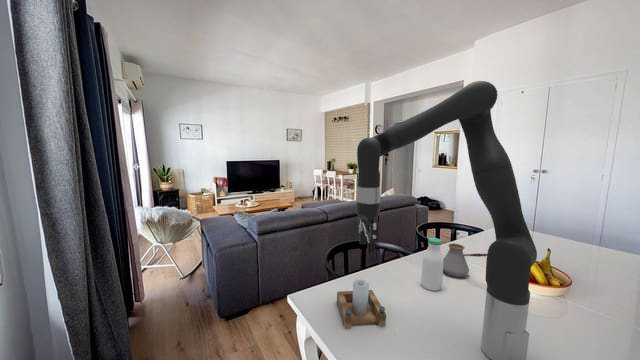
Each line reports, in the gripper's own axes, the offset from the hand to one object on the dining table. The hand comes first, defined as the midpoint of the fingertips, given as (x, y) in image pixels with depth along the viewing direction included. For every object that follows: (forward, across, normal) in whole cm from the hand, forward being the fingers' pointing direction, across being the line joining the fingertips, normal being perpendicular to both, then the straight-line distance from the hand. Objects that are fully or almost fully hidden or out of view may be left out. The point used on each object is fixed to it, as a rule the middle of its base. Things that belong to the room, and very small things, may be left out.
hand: (366, 248), depth 85 cm
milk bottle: (+23, +14, -32) cm, 42 cm away
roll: (+22, 0, +2) cm, 22 cm away
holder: (+23, 0, +2) cm, 23 cm away
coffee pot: (+23, +18, -50) cm, 58 cm away
